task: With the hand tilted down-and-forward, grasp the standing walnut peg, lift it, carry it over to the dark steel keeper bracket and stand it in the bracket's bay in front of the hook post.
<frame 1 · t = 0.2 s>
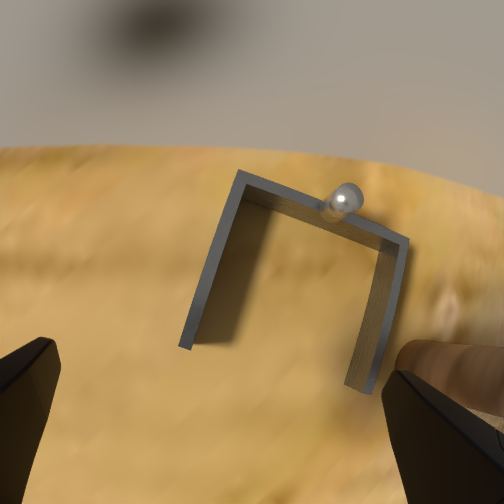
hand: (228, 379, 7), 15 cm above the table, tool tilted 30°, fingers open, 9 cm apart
keeper: (294, 295, 23), on the table
peg: (414, 364, 24), on the table
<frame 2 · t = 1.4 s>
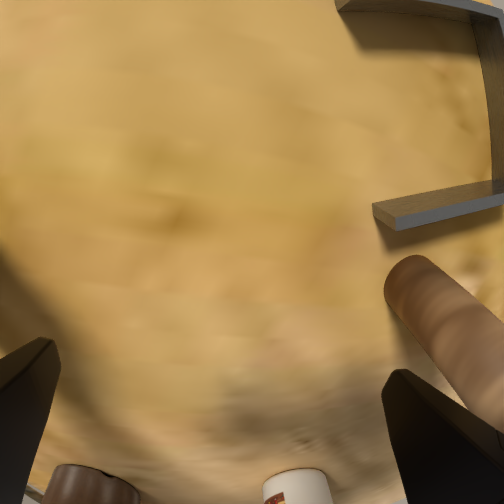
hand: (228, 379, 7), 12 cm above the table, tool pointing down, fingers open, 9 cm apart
keeper: (433, 100, 16), on the table
peg: (409, 283, 21), on the table
plant pot: (98, 484, 30), on the table
milk bottle: (293, 479, 31), on the table
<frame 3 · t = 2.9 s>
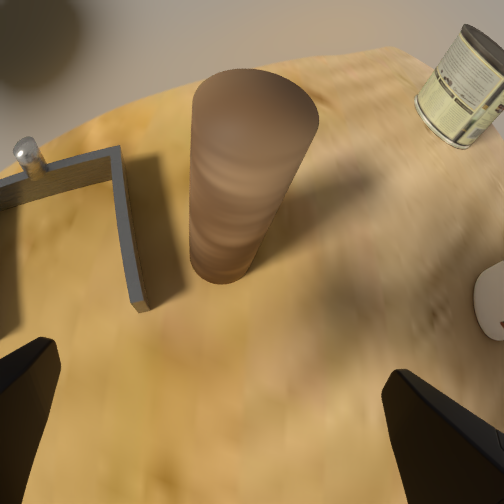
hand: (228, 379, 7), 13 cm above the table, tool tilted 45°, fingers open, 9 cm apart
keeper: (51, 257, 21), on the table
coffee can: (442, 121, 36), on the table
peg: (220, 254, 23), on the table
milk bottle: (491, 306, 26), on the table
when the fingers open (8 cm above the table, at t = 8.4 s): peg stays where it is, on the table.
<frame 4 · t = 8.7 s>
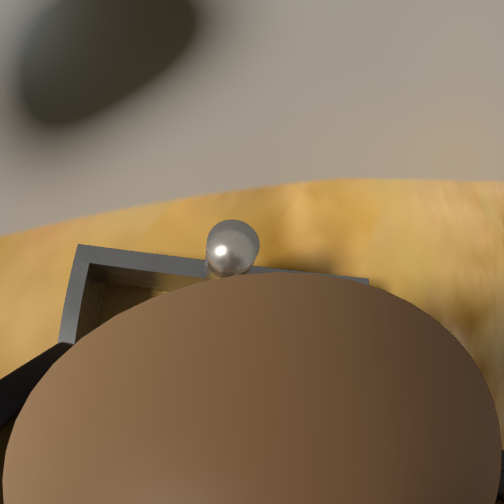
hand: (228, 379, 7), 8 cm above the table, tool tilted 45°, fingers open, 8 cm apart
keeper: (210, 405, 14), on the table
peg: (210, 406, 14), on the table
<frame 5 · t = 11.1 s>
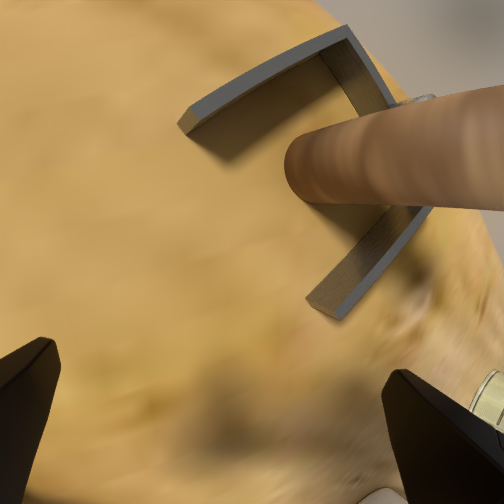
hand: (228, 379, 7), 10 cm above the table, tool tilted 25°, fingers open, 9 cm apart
keeper: (316, 167, 19), on the table
coffee can: (481, 397, 38), on the table
peg: (315, 167, 19), on the table
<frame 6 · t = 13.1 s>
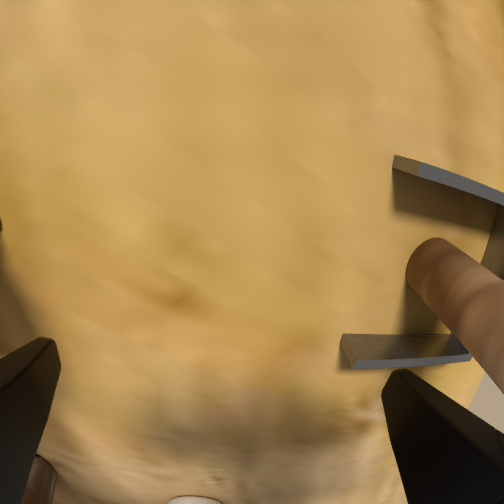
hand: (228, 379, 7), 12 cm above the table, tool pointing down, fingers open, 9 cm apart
keeper: (431, 266, 21), on the table
peg: (430, 266, 21), on the table
plant pot: (20, 455, 28), on the table
milk bottle: (196, 503, 33), on the table
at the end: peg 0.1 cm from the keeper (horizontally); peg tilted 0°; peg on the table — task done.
